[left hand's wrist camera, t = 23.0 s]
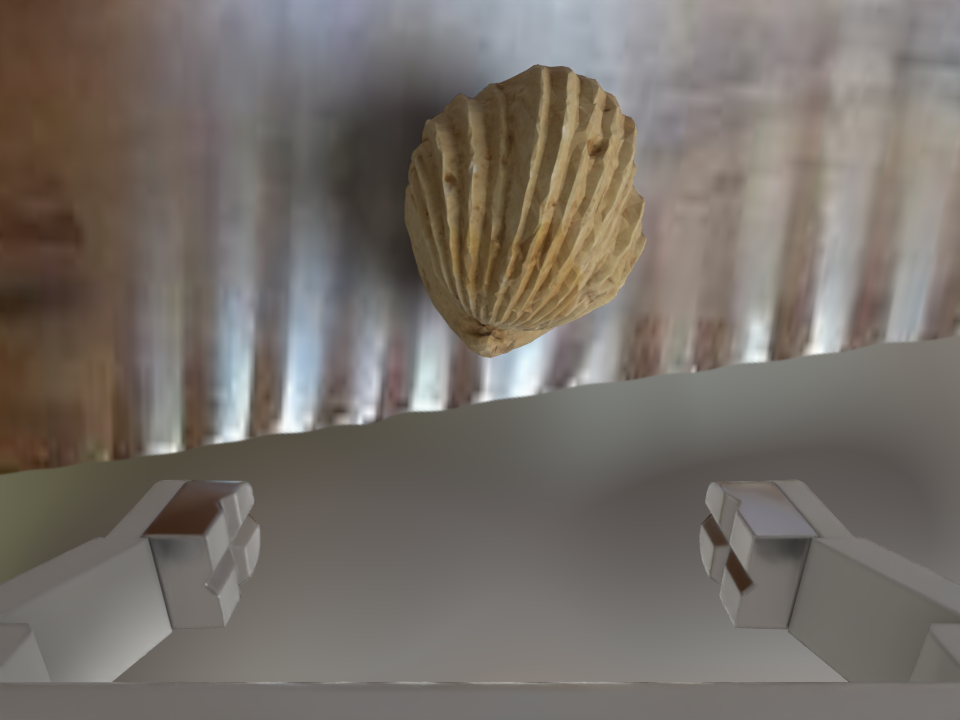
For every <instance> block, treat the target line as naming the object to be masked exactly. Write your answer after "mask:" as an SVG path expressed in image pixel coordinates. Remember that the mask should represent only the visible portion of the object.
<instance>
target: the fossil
mask: <svg viewBox="0 0 960 720" xmlns="http://www.w3.org/2000/svg"><path fill="white" fill-rule="evenodd" d="M636 137H637V130H636V125H635V122H634V121H633V119H632V118H631V117H628V116H626V115H624V114H622V113H621V110H620V107H619V104H618V102H617V99H616V97H615V96H614V95H612V94H610V93H607V92H605V91H603V89H602V88H601V86H600V85H599V84H598V82H597V81H596V80H595V79H590V78H587V77H585V76H582V75H577V74H575V73H574V72H573V71H572V70H571V69H570V68H569V67H564V66H557V67H547V66H542V65H534V66H532V67H531V68H529V69H528V70H526V71H524V72H522V73H520V74H518V75H516V76H514V77H512V78H510V79H508V80H506V81H504V82H501V83H496V84H489V85H488V86H487V87H486V88H485V89H483V90H482V91H481V92H480V93H479V94H478V95H477V96H476V97H474V98H473V99H471V98H468V97H466V96H465V95H463V94H461V93H460V94H459V95H457V96H456V97H455V98H454V99H453V100H452V101H451V103H450V104H448V105H446V106H445V109H444V111H443V112H441V113H440V114H438V115H436V116H435V117H434V118H433V119H428V120H427V121H426V122H425V127H424V130H423V131H422V143H421V144H420V145H419V146H418V147H417V148H416V149H415V150H414V151H413V153H412V156H411V161H412V162H411V164H410V167H409V171H408V175H409V176H408V180H409V183H408V186H407V188H406V191H405V194H406V199H405V216H404V220H405V223H406V226H407V230H408V233H409V236H410V239H411V244H412V249H413V253H414V257H415V260H416V263H417V266H418V271H419V274H420V276H421V278H422V281H423V284H424V286H425V289H426V291H427V293H428V295H429V297H430V299H431V300H432V302H433V304H434V306H435V308H436V309H437V310H438V312H439V313H440V314H441V316H442V317H443V318H444V320H445V321H446V323H447V324H448V325H449V327H450V328H451V329H452V330H453V331H454V332H455V333H456V334H457V335H458V336H459V337H460V338H461V339H462V340H463V341H464V342H465V344H466V345H467V346H468V348H469V349H470V350H471V351H473V352H475V353H477V354H479V355H481V356H483V357H488V358H492V357H495V356H497V355H500V354H504V353H508V352H509V351H511V350H513V349H515V348H519V347H521V346H524V345H526V344H528V343H531V342H532V341H534V340H535V339H537V338H538V337H540V336H541V335H543V334H545V333H546V332H548V331H550V330H551V329H553V328H554V327H557V326H561V325H564V324H566V323H569V322H571V321H573V320H576V319H578V318H580V317H582V316H584V315H585V314H587V313H589V312H591V311H592V310H594V309H596V308H598V307H600V306H603V305H605V304H607V303H608V302H610V301H611V300H612V299H613V298H615V297H616V295H617V292H618V290H619V289H620V288H621V287H622V286H623V284H624V283H625V281H626V278H627V276H628V275H629V274H630V273H631V271H632V268H633V266H634V264H635V263H636V261H637V259H638V258H639V256H640V255H641V253H642V252H643V249H644V246H645V243H646V239H647V238H646V237H645V236H644V234H643V233H642V232H641V231H642V223H641V219H642V216H643V214H644V207H645V200H644V198H643V197H642V196H640V195H639V194H638V193H637V191H636V190H635V188H634V186H633V179H634V176H635V173H636V170H637V167H636V166H635V164H634V161H633V159H634V156H635V147H636Z"/></svg>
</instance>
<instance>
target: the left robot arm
mask: <svg viewBox="0 0 960 720" xmlns="http://www.w3.org/2000/svg"><path fill="white" fill-rule="evenodd" d="M254 503H255V500H254V495H253V491H252V486H251V485H250V484H249V483H248V482H246V481H199V480H192V481H189V480H163V481H160V482H156V483H155V484H154V486H153V487H152V488H151V489H150V490H149V491H148V492H147V493H146V494H145V495H144V496H143V498H142V499H141V500H140V501H139V502H138V503H137V504H136V505H135V506H134V507H133V508H132V510H131V511H130V512H129V513H128V514H127V515H126V516H125V517H124V518H123V519H122V520H121V522H120V523H119V524H118V525H117V526H116V527H115V528H114V529H113V530H112V531H111V532H110V533H109V535H108V536H107V537H106V538H95V539H92V540H90V541H88V542H86V543H84V544H82V545H80V546H78V547H76V548H74V549H72V550H70V551H68V552H66V553H63V554H61V555H59V556H57V557H55V558H53V559H51V560H49V561H47V562H45V563H43V564H41V565H39V566H37V567H34V568H32V569H30V570H28V571H26V572H24V573H22V574H20V575H18V576H16V577H14V578H12V579H10V580H8V581H5V582H3V583H1V584H0V720H960V584H958V583H956V582H954V581H952V580H950V579H948V578H946V577H944V576H942V575H940V574H938V573H936V572H934V571H932V570H930V569H927V568H925V567H923V566H921V565H919V564H917V563H915V562H913V561H911V560H909V559H907V558H905V557H903V556H901V555H899V554H896V553H894V552H892V551H890V550H888V549H886V548H884V547H882V546H880V545H878V544H876V543H874V542H872V541H870V540H867V539H865V538H854V537H853V536H852V535H851V533H850V532H849V531H848V530H847V529H846V528H845V527H844V526H843V525H842V524H841V523H840V521H839V520H838V519H837V518H836V517H835V516H834V515H833V514H832V513H831V512H830V511H829V509H828V508H827V507H826V506H825V505H824V504H823V503H822V502H821V501H820V500H819V499H818V497H817V496H816V495H815V494H814V493H813V492H812V491H811V490H810V489H809V488H808V487H807V486H806V484H805V483H803V482H801V481H799V480H776V481H752V482H711V484H710V486H709V488H708V490H707V494H706V500H705V503H706V505H707V506H708V508H709V510H710V511H711V514H710V515H709V516H708V517H707V518H706V519H705V520H704V521H703V522H702V523H701V530H700V538H699V541H700V553H701V558H702V561H703V565H704V567H705V570H706V571H707V574H708V576H709V577H710V578H711V579H712V580H714V581H715V582H717V583H718V584H720V585H721V590H720V595H719V597H720V599H721V601H722V603H723V605H724V607H725V609H726V611H727V613H728V615H729V617H730V619H731V621H732V623H733V625H734V626H735V628H757V629H788V632H789V633H790V634H791V635H792V636H793V637H795V638H796V639H797V640H798V641H800V642H801V643H802V644H803V645H804V646H806V647H807V648H808V649H809V650H810V651H812V652H813V653H814V654H815V655H817V656H818V657H819V658H820V659H821V660H823V661H824V662H825V663H826V664H827V665H829V666H830V667H831V668H832V669H834V670H835V671H836V672H837V673H838V674H840V675H841V676H842V677H843V678H844V679H846V680H847V681H848V682H112V681H113V680H115V679H116V678H117V677H118V676H119V675H121V674H122V673H123V672H124V671H125V670H127V669H128V668H129V667H130V666H132V665H133V664H134V663H135V662H136V661H138V660H139V659H140V658H141V657H142V656H144V655H145V654H146V653H147V652H149V651H150V650H151V649H152V648H153V647H155V646H156V645H157V644H158V643H160V642H161V641H162V640H163V639H164V638H166V637H167V636H168V635H169V634H170V633H172V629H202V628H225V627H226V625H227V623H228V621H229V619H230V617H231V615H232V613H233V611H234V609H235V607H236V605H237V603H238V601H239V599H240V597H241V595H240V590H239V585H240V584H242V583H243V582H245V581H246V580H248V579H249V578H250V577H251V576H252V574H253V572H254V569H255V567H256V565H257V561H258V557H259V552H260V529H259V523H258V522H257V521H256V520H255V519H254V518H253V517H252V516H251V515H250V514H249V511H250V510H251V508H252V506H253V505H254Z"/></svg>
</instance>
